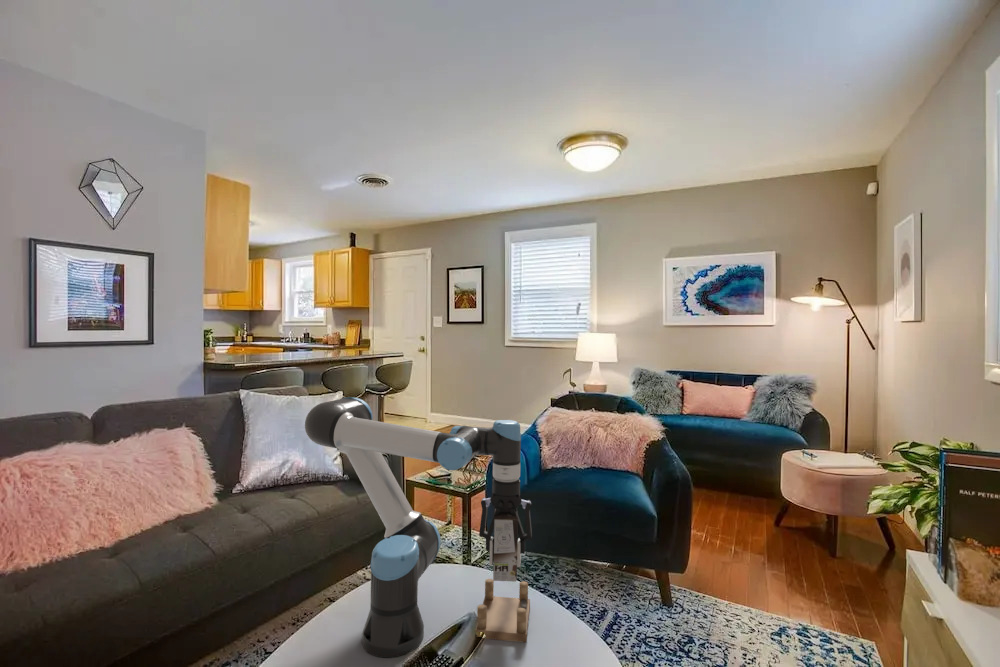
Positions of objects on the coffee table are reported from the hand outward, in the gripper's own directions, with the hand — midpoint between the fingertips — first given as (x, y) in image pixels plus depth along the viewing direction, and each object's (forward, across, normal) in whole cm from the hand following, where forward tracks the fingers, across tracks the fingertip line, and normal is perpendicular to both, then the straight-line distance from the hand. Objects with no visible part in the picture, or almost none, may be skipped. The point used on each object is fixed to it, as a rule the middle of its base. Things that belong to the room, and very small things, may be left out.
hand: (505, 563), depth 125 cm
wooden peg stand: (+15, 0, 0) cm, 15 cm away
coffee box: (+3, 0, 0) cm, 3 cm away
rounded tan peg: (+13, +5, +5) cm, 15 cm away
